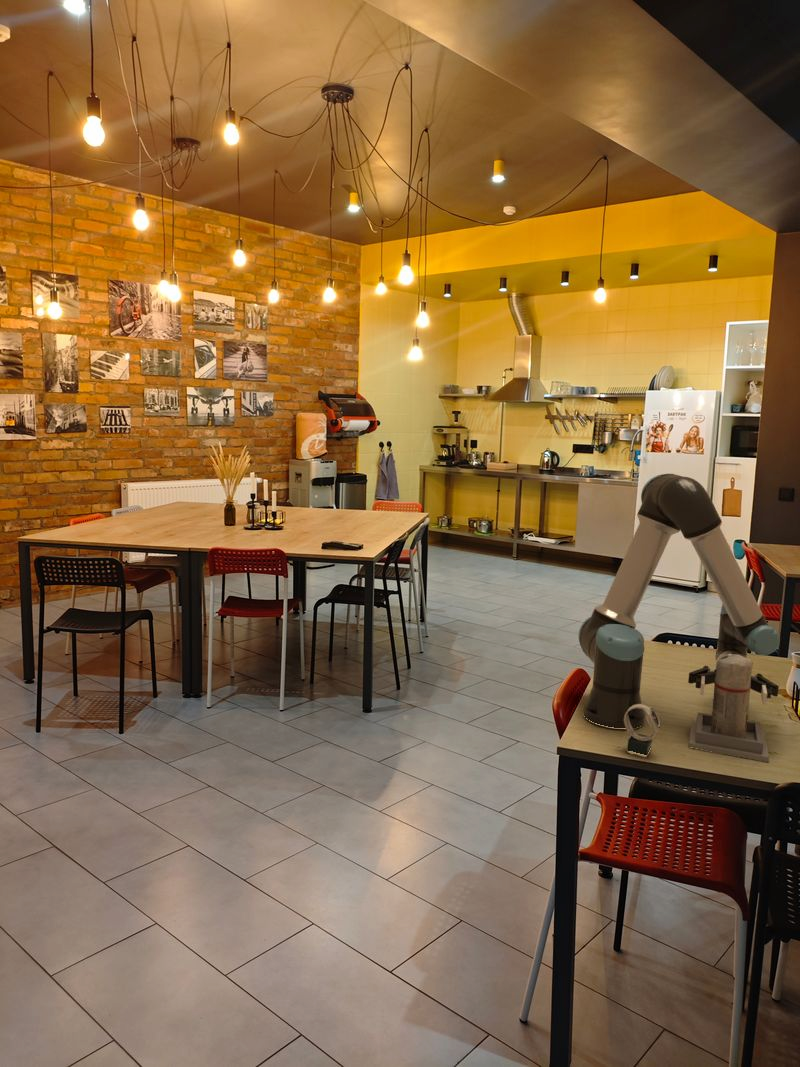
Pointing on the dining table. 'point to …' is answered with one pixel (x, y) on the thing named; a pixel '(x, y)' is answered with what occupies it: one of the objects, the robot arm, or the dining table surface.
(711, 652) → the dining table surface
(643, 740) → the watch
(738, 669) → the beige textured cylinder
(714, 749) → the holder dock
